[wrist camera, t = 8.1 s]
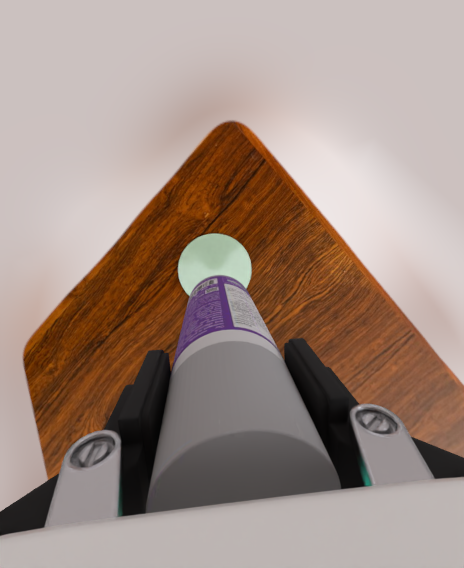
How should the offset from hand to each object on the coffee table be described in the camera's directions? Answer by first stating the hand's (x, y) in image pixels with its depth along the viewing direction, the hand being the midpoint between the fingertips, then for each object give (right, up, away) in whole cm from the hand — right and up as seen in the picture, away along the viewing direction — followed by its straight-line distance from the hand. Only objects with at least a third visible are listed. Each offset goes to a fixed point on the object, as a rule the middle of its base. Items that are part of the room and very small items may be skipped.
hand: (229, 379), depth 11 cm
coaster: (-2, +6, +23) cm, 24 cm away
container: (-1, +2, +10) cm, 10 cm away
